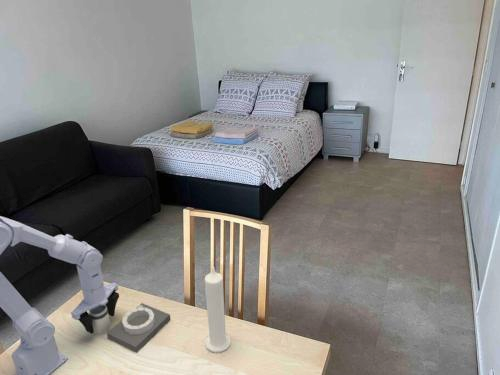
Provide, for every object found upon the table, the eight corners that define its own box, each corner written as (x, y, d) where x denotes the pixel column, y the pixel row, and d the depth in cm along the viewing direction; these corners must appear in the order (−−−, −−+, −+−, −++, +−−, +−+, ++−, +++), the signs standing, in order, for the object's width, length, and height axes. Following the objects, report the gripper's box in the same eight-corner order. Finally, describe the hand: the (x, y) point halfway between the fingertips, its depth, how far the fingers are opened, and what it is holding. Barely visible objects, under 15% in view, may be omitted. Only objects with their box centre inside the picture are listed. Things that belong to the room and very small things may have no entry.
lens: (101, 337, 108) (96, 317, 105) (89, 331, 110) (84, 311, 107) (114, 325, 112) (111, 306, 109) (102, 320, 114) (98, 300, 111)
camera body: (136, 352, 102) (134, 341, 101) (107, 338, 107) (105, 327, 105) (170, 319, 113) (169, 309, 112) (142, 308, 118) (141, 297, 117)
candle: (227, 354, 101) (222, 276, 91) (201, 351, 102) (194, 273, 92) (233, 335, 107) (230, 260, 97) (209, 331, 109) (203, 257, 99)
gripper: (80, 304, 97) (90, 345, 102) (122, 274, 109) (129, 312, 114) (62, 296, 100) (72, 336, 105) (105, 267, 112) (112, 304, 117)
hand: (101, 323), depth 110 cm, fingers open, 7 cm apart
